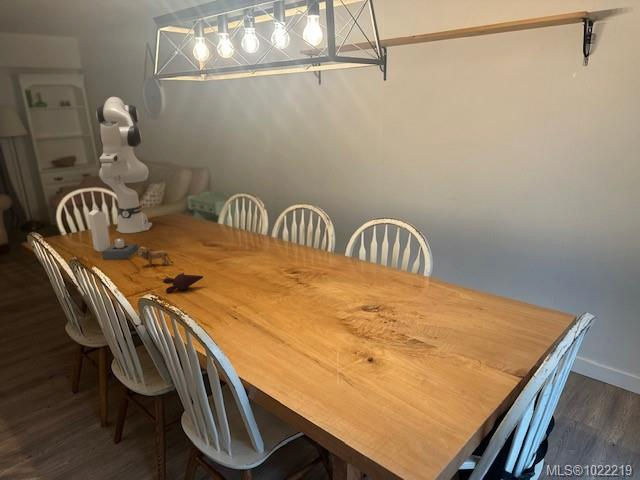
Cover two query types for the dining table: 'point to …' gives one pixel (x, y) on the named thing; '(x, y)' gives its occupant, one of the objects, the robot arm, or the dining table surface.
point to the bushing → (119, 243)
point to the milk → (99, 229)
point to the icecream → (181, 282)
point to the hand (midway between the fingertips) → (118, 184)
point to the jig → (120, 252)
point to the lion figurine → (153, 255)
